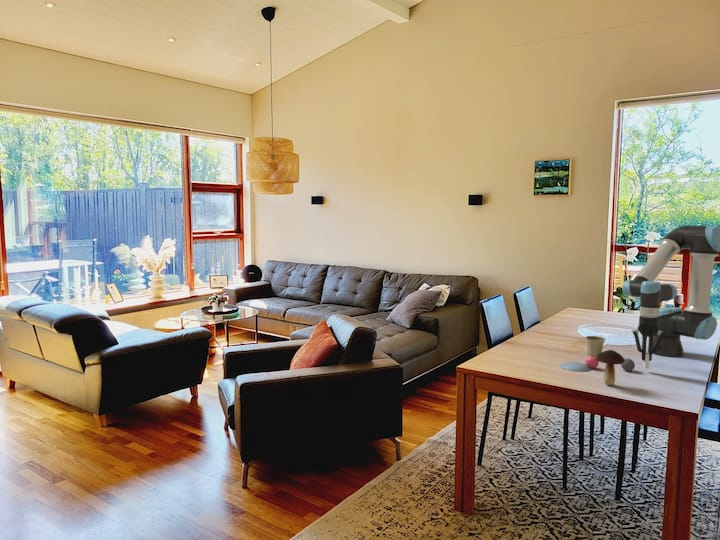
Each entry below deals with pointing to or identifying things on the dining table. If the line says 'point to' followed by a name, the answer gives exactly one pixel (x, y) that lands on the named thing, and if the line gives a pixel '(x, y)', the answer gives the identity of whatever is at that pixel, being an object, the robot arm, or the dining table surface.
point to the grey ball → (628, 365)
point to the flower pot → (594, 345)
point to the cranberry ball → (592, 362)
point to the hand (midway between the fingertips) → (646, 367)
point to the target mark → (575, 366)
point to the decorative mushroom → (610, 364)
